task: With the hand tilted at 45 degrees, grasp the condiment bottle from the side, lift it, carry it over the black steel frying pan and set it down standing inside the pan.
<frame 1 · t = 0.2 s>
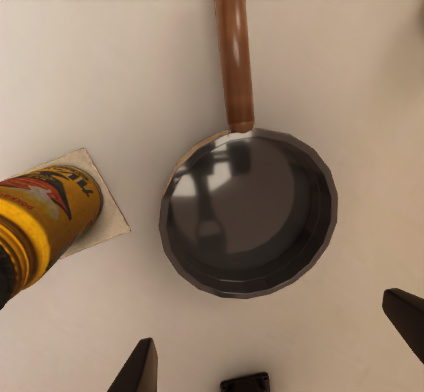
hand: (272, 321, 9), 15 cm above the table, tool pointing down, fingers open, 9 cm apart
pan: (240, 207, 23), on the table
condiment: (73, 205, 21), on the table
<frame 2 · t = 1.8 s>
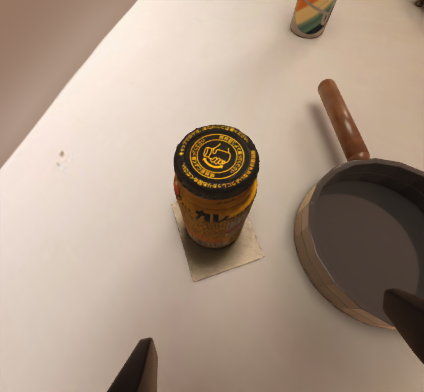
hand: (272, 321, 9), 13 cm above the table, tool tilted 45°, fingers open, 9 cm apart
rhino figurine: (423, 6, 43), on the table
lotion bottle: (306, 29, 40), on the table
pan: (369, 242, 23), on the table
condiment: (215, 230, 24), on the table
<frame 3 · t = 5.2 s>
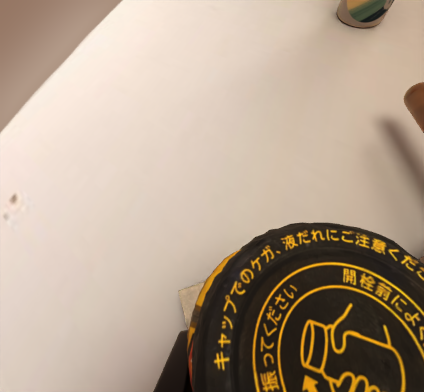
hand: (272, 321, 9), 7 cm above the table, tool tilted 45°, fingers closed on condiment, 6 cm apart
lotion bottle: (357, 18, 30), on the table
condiment: (253, 341, 14), on the table, touching gripper
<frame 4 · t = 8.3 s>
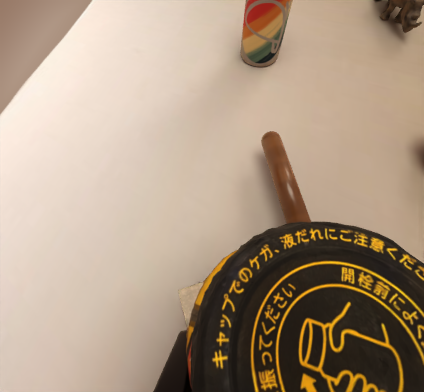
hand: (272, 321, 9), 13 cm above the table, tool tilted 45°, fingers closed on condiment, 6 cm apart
rhino figurine: (390, 20, 38), on the table
lotion bottle: (258, 56, 35), on the table
condiment: (253, 341, 14), point 6 cm above the table, touching gripper
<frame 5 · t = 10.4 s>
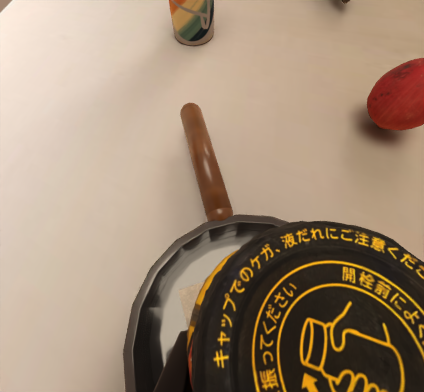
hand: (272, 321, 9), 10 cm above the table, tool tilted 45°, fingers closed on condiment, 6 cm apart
red fruit: (378, 126, 25), on the table
lotion bottle: (194, 35, 33), on the table
pan: (247, 331, 17), on the table
condiment: (253, 341, 14), point 3 cm above the table, touching gripper
when the fingers open (7 cm above the table, at t = 11.7 s): condiment stays where it is, resting on pan.
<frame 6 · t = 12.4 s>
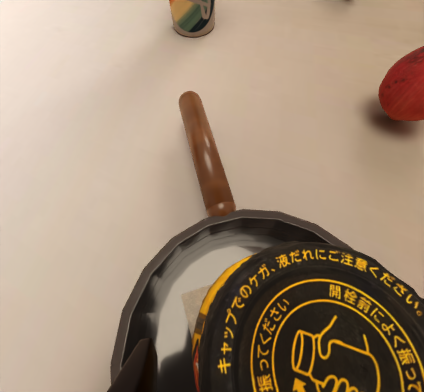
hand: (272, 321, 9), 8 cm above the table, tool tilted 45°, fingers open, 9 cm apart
red fruit: (390, 118, 24), on the table
lotion bottle: (194, 27, 32), on the table
pan: (252, 340, 15), on the table
condiment: (253, 343, 15), resting on pan
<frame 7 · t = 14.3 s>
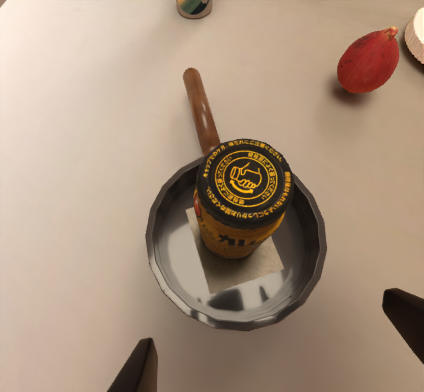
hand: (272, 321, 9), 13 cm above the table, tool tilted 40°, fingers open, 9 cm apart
red fruit: (348, 91, 30), on the table
lotion bottle: (194, 9, 37), on the table
pan: (232, 237, 23), on the table
condiment: (232, 238, 23), resting on pan
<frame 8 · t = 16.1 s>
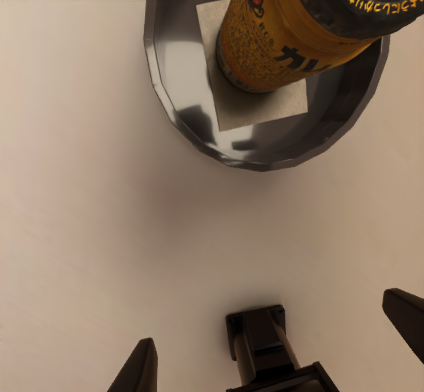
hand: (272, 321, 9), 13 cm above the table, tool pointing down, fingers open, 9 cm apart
pan: (254, 63, 18), on the table
condiment: (255, 64, 17), resting on pan
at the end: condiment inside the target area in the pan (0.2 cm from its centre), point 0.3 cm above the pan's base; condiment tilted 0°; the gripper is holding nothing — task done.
